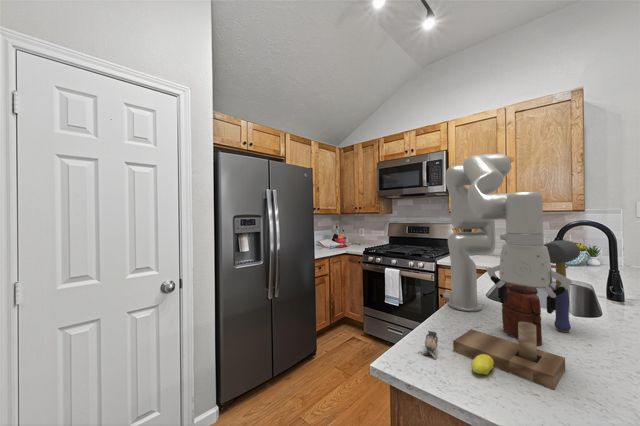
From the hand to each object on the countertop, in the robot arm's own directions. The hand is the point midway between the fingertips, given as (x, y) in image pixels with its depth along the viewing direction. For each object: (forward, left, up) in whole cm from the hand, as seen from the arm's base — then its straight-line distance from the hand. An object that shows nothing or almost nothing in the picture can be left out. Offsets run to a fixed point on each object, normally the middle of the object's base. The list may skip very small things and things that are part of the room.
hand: (525, 306), depth 67 cm
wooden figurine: (-6, +19, -16) cm, 25 cm away
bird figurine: (-19, -12, -16) cm, 28 cm away
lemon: (-7, -10, -16) cm, 20 cm away
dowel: (0, 0, -15) cm, 15 cm away
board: (-5, 0, -15) cm, 16 cm away
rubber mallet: (+1, +34, -16) cm, 37 cm away
